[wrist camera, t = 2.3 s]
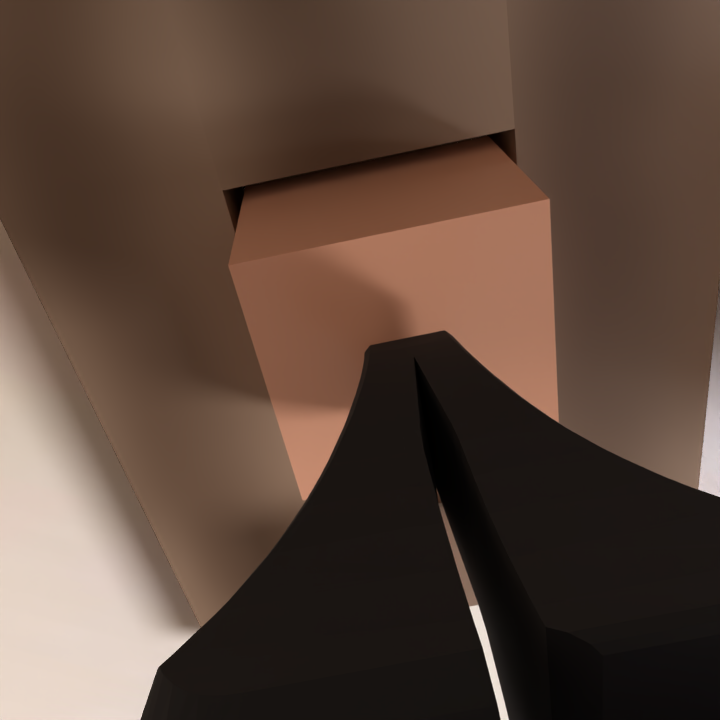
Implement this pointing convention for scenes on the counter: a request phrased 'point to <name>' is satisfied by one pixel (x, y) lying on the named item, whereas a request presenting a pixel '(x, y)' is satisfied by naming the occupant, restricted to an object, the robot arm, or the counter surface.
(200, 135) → the brown rectangular tray
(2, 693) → the counter surface
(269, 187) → the key terracotta
